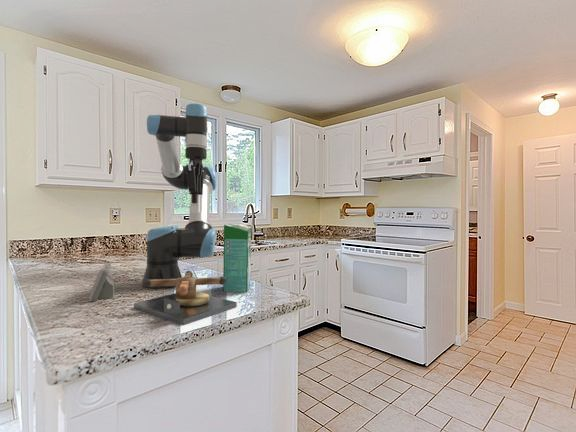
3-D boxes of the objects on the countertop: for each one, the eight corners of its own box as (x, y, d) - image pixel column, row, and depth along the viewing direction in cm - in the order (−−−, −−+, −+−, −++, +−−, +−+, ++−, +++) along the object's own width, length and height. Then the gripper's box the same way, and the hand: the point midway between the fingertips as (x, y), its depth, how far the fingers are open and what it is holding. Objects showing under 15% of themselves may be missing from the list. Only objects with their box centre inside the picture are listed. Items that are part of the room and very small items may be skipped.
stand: (131, 308, 99) (131, 290, 99) (187, 294, 116) (187, 279, 116) (181, 325, 85) (181, 305, 85) (236, 306, 102) (236, 289, 102)
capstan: (133, 316, 86) (133, 288, 86) (151, 293, 110) (151, 271, 110) (227, 311, 91) (228, 285, 91) (224, 290, 115) (225, 269, 115)
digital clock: (95, 290, 119) (95, 262, 119) (122, 289, 121) (122, 261, 121) (77, 303, 104) (77, 270, 103) (108, 302, 106) (108, 269, 105)
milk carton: (247, 292, 120) (248, 224, 120) (223, 291, 121) (223, 224, 120) (250, 286, 130) (251, 223, 129) (228, 285, 130) (228, 223, 129)
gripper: (192, 151, 125) (192, 212, 126) (178, 144, 112) (178, 212, 113) (211, 151, 125) (211, 212, 125) (199, 144, 112) (199, 212, 112)
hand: (195, 212), depth 119 cm, fingers closed
